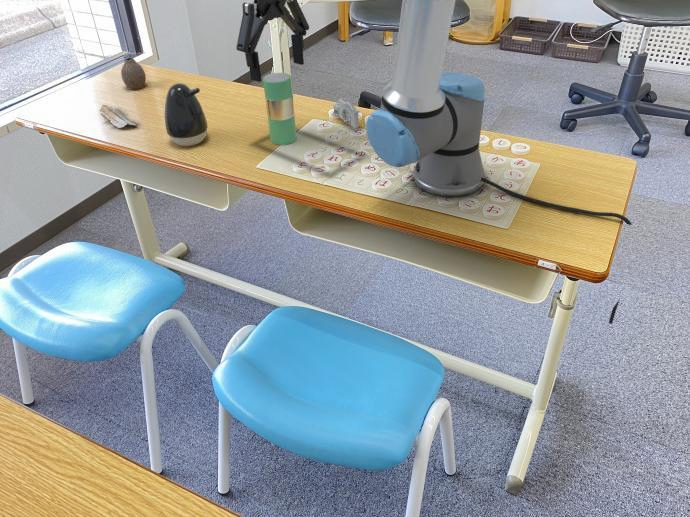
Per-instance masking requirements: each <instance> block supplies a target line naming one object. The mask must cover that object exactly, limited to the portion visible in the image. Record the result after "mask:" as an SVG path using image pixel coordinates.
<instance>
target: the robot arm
mask: <svg viewBox="0 0 690 517" xmlns="http://www.w3.org/2000/svg"><path fill="white" fill-rule="evenodd" d="M456 2H457V1H456V0H402V1H401V10H400V17H399V25H398V34H397V41H396V48H395V58H394V65H393V72H392V80H391V82H389V83H387V84H386V85H385V86H384V88H383V90H382V93H381V102H380V108H379V109H375V110H374V111H373V112H372V113H371V114H370V115H368V117H367V119H366V124H365V130H366V136H367V140H368V142H369V145H370V147H371V148H372V149H373V152H374V153H375V155H376V156H378V158H379V159H380V160H381V161H382V162H384V163H385V164H387V165H389V166H391V167H394V168H403V167H407V166H409V165H411V164H415V165H414V169H413V181H414V183H415V185H417V187H418V188H419V189H421V190H422V191H424V192H427V193H429V194H432V195H435V196H441V197H461V196H467V195H469V194H472V193H475V192H477V191H479V189H481V188H482V186H483V184H484V183H486V184H487V185H489V186H492V187H494V188H496V189H497V190H499V191H501V192H504V193H507V194H508V195H511V196H513V197H517V198H519V199H522V200H525V201H528V202H531V203H535V204H539V205H541V206H546V207H549V208H554V209H558V210H562V211H569V212H574V213H579V214H583V215H590V216H595V217H613V218H618V219H620V220H622V221H623V222H624V223H625V224H627V225H628V226H633V224H632V222H631V221H630V220H629V219H628V218H627V217H626V216H624V215H623V214H620V213H616V212H608V211H607V212H606V211H603V212H602V211H592V210H587V209H583V208H581V209H580V208H576V207H572V206H566V205H561V204H557V203H552V202H547V201H544V200H540V199H537V198H533V197H529V196H527V195H524V194H521V193H518V192H515V191H513V190H510V189H508V188H505V187H503V186H501V185H499V184H497V183H496V182H494V181H492V180H489V179H487V178H485V169H484V166H483V161H482V156H481V152H480V140H481V132H482V122H483V114H484V106H485V102H486V98H485V97H486V96H485V93H486V87H485V86H486V85H485V84H484V82H483V81H482V80H481V79H480V78H478V77H476V76H474V75H470V74H466V73H461V72H454V71H443V69H444V65H445V64H444V63H445V59H446V53H447V47H448V42H449V39H450V38H449V37H450V33H451V27H452V21H453V18H454V17H453V16H454V11H455V6H456ZM286 4H287V6H285V5H286ZM287 7H288V8H287ZM279 18H280V19H281V20H282V21H283V23H284V24H286V26H287V27H288V28H289V30H290V31H291V32H292V33H293V34H291V35H290V39H291V49H292V61H293V64H297V65H300V66H302V65H305V61H304V51H303V49H304V47H305V44H304V42H305V41H304V37H306V36H307V31H309V30H310V25H309V23H308V20H307V18H306V17H305V14H304V12H303V10H302V8H301V6H300V4H299V1H298V0H253V2H243V3H242V18H241V21H240V27H239V32H238V37H237V42H236V47H235V48H236V50H237V51H238V52H242V53H244V55H245V61H246V66H247V68H249V74H250V80H251V81H254V82H257V83H261V82H263V79H262V74H261V66H260V59H259V52H258V51H256V49H257V46H258V44H259V41H260V39H261V36H262V33H263V31H264V28H265V26H266V25H267V24H268V23H269V22H270V21H273V20H275V19H279ZM620 299H621V298H619V299H618V300H617V302H616V303H615V305H614V306H612V309H611V313H610V317H609V320H608V324H610V325H613V322H614V319H615V316H616V312H617V309H618V306H619V304H620Z"/></svg>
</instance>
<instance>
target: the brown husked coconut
mask: <svg viewBox="0 0 690 517" xmlns="http://www.w3.org/2000/svg"><path fill="white" fill-rule="evenodd" d="M120 74H121V75H120V76H121V80H122V82H123V83H124V86H126V87H127V88H128V89H129V90H140V89H142V88H143V87H144V86H145V84H146V80H147V76H146V71H145V70H144V68H143V67H142V66H141V64H139V63H138V62H137V61H136V60H135V59H134V58H133V57H126V58H125V59H124V63H123V65H122V67H121V71H120Z"/></svg>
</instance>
